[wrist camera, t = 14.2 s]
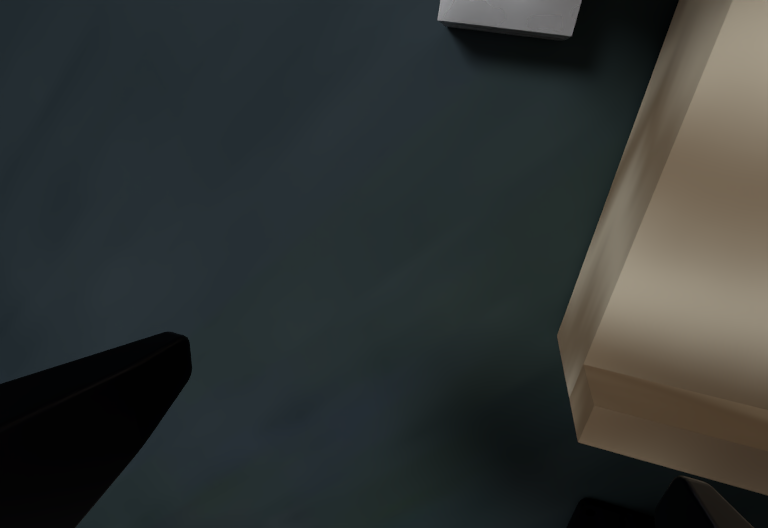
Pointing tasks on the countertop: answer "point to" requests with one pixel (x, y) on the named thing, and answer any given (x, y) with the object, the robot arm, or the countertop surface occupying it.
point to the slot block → (684, 263)
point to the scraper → (513, 16)
